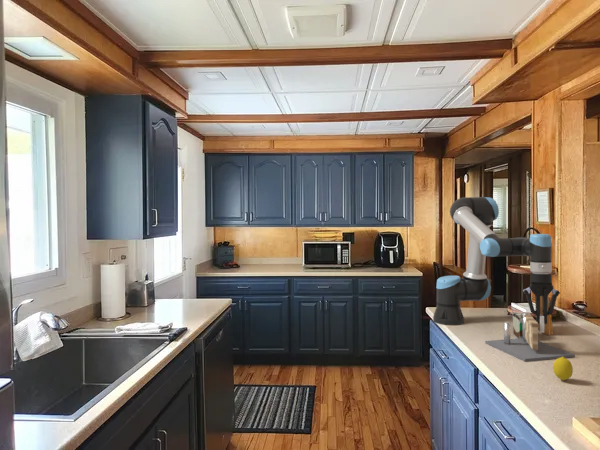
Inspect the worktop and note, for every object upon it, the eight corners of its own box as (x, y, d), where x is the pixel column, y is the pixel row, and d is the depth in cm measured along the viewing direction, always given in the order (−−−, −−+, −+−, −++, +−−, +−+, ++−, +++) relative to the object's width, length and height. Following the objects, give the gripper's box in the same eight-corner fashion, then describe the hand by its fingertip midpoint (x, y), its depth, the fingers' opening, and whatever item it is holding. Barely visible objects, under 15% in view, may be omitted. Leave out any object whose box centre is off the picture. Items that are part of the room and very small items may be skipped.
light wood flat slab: (524, 338, 183) (524, 314, 183) (530, 338, 183) (530, 314, 183) (531, 349, 168) (531, 323, 168) (538, 350, 168) (538, 324, 167)
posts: (502, 345, 182) (502, 315, 182) (526, 341, 187) (526, 311, 187) (508, 347, 179) (508, 316, 179) (532, 343, 184) (532, 313, 184)
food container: (535, 341, 187) (535, 318, 187) (520, 340, 188) (520, 318, 188) (526, 333, 199) (526, 312, 199) (512, 333, 201) (512, 311, 200)
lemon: (549, 377, 146) (549, 354, 146) (565, 377, 146) (565, 353, 146) (560, 384, 140) (560, 359, 140) (576, 383, 141) (576, 359, 141)
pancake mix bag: (539, 335, 196) (539, 274, 195) (530, 325, 214) (530, 269, 213) (556, 337, 194) (556, 274, 193) (545, 326, 212) (545, 269, 211)
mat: (485, 343, 186) (485, 340, 186) (529, 339, 190) (529, 337, 190) (524, 361, 162) (524, 358, 162) (574, 357, 166) (574, 354, 166)
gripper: (524, 273, 170) (525, 332, 171) (561, 274, 166) (562, 335, 167) (521, 271, 177) (522, 328, 178) (557, 271, 173) (557, 330, 174)
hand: (541, 331), depth 172 cm, fingers closed
